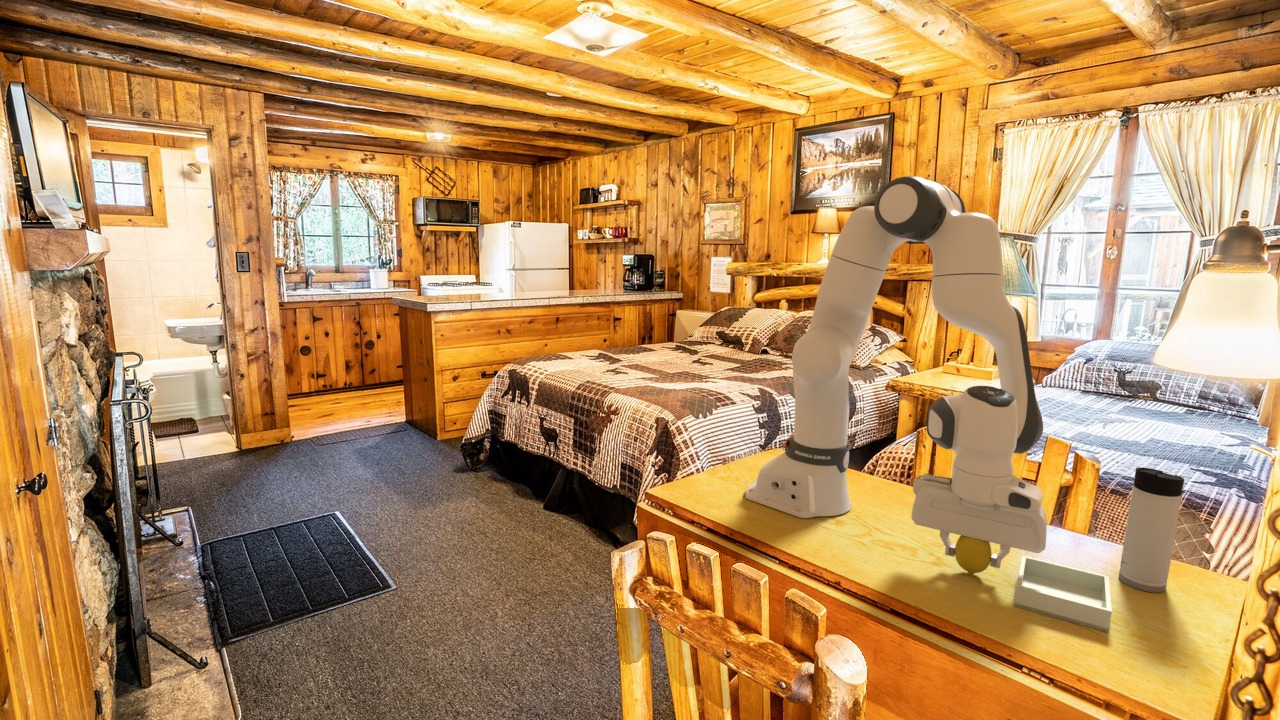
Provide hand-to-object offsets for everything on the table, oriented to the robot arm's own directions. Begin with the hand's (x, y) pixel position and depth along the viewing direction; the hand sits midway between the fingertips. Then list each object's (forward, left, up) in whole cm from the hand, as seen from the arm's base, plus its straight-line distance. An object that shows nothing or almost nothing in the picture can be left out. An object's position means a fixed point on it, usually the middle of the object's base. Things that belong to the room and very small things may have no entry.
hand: (972, 560), depth 108 cm
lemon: (0, 0, -3) cm, 3 cm away
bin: (+13, -1, -2) cm, 13 cm away
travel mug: (+24, +13, -3) cm, 27 cm away
